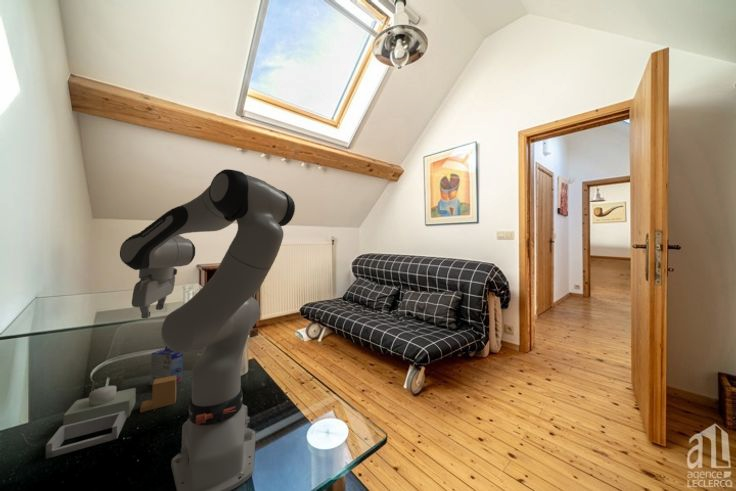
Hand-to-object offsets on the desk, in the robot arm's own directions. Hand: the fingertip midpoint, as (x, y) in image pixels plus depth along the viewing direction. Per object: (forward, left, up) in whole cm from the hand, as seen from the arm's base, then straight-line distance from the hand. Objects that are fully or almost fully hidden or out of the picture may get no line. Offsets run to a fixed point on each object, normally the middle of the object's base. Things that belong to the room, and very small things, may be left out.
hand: (153, 313), depth 89 cm
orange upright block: (-2, -2, -31) cm, 31 cm away
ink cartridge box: (+15, -3, -31) cm, 34 cm away
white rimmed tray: (-6, +12, -30) cm, 33 cm away
